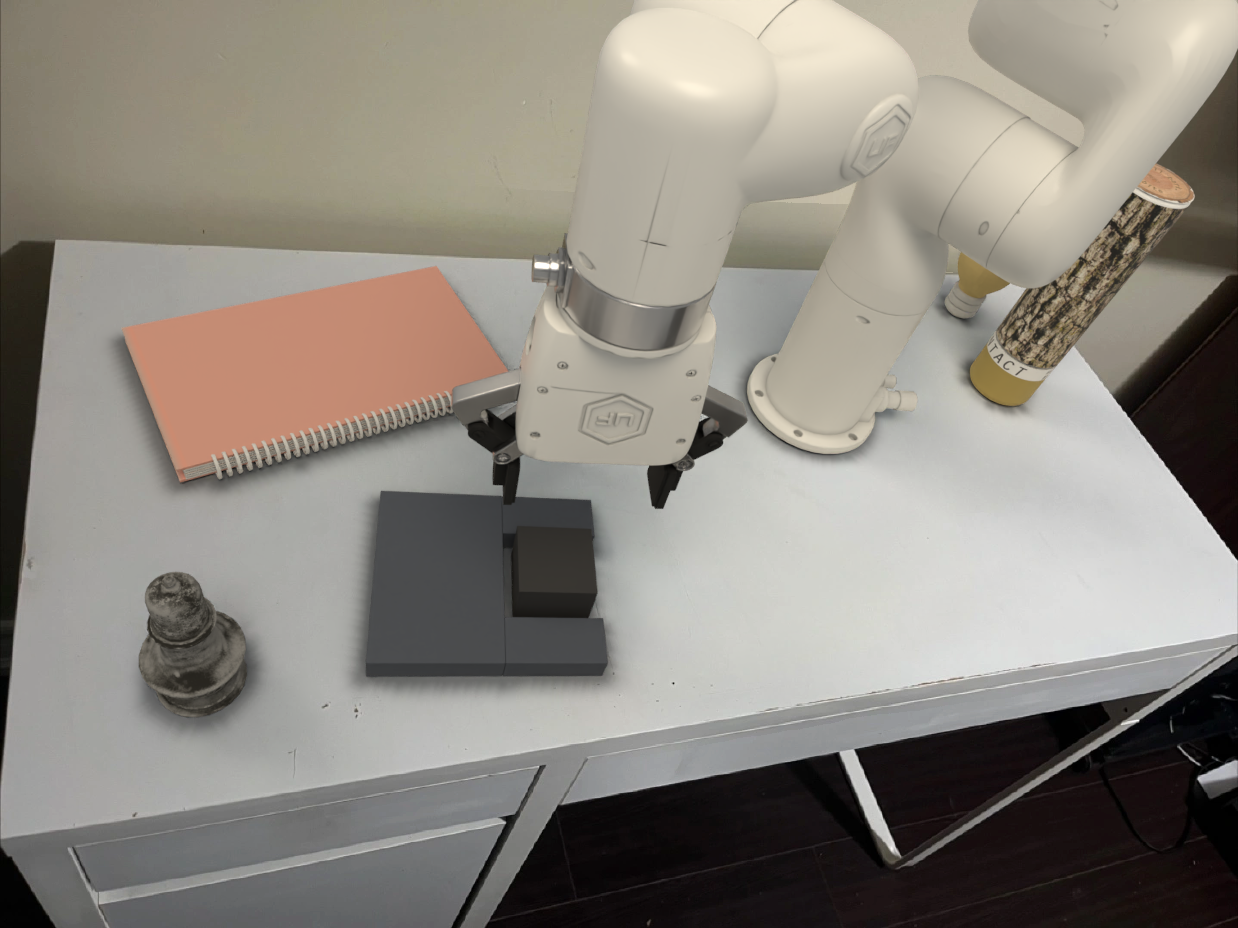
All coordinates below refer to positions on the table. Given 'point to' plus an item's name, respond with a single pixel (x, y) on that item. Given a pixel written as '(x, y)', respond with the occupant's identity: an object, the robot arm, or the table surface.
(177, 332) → the notebook
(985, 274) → the light bulb
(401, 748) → the table surface
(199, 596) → the chess piece
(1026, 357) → the paper tube
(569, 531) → the pad piece
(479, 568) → the gray notched slab
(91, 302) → the table surface
